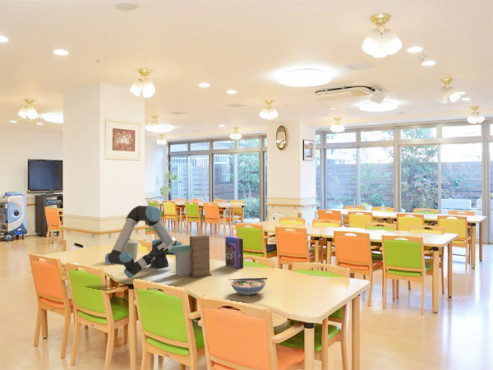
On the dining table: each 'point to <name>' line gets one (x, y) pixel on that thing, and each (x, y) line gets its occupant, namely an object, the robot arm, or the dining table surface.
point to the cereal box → (234, 252)
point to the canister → (132, 248)
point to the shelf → (182, 263)
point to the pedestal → (199, 256)
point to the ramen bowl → (248, 285)
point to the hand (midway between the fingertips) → (168, 244)
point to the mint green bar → (179, 248)
